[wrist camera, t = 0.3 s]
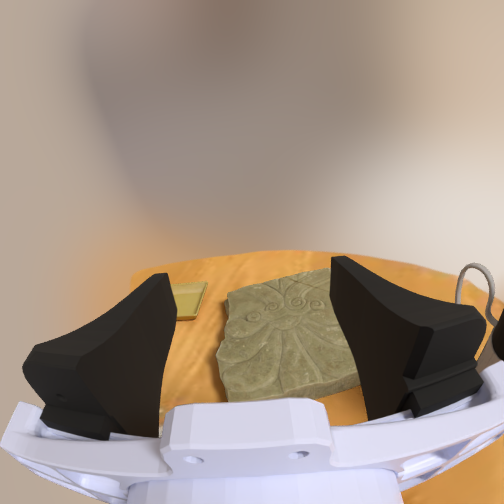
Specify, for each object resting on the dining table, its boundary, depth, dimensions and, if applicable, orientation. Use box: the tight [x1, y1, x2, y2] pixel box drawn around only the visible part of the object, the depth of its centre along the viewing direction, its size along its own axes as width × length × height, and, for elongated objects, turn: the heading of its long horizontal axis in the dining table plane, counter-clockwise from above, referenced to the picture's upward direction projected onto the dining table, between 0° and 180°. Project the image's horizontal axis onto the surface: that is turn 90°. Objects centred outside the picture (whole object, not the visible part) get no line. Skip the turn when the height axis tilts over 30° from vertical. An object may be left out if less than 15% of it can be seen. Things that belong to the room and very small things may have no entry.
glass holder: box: [455, 263, 504, 374], centre depth 18 cm, size 9×14×15 cm, turn 17°
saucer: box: [170, 281, 208, 320], centre depth 45 cm, size 9×9×2 cm
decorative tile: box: [216, 268, 361, 402], centre depth 35 cm, size 19×20×4 cm
